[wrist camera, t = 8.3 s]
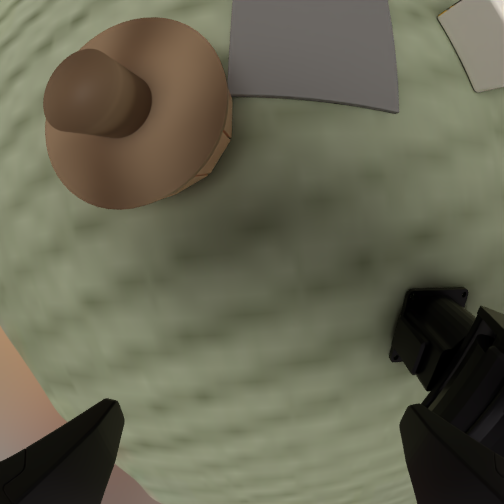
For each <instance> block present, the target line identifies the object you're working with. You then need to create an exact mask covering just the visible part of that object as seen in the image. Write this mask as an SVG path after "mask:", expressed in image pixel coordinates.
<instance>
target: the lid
mask: <svg viewBox="0 0 504 504" xmlns="http://www.w3.org/2000/svg"><path fill="white" fill-rule="evenodd" d="M228 105H229V94H228V85H227V79H226V76H225V73H224V70H223V67H222V64H221V62H220V59H219V57H218V55H217V53H216V52H215V50H214V48H213V47H212V46H211V44H210V43H209V42H208V41H207V39H205V38H204V37H203V36H202V35H201V34H200V33H199V32H197V31H196V30H194V29H193V28H191V27H189V26H188V25H185V24H183V23H181V22H178V21H174V20H170V19H166V18H156V17H155V18H140V19H134V20H130V21H126V22H123V23H120V24H118V25H115V26H113V27H111V28H109V29H107V30H105V31H103V32H102V33H100V34H98V35H97V36H95V37H94V38H93V39H91V40H90V41H89V42H88V43H86V44H85V45H84V46H83V47H82V48H81V49H80V50H79V51H77V52H75V53H73V54H71V55H70V56H69V57H67V58H66V59H65V60H64V61H63V62H62V63H61V64H60V65H59V66H58V67H57V68H56V69H55V71H54V72H53V74H52V76H51V77H50V79H49V81H48V84H47V86H46V90H45V93H44V101H43V107H44V113H45V117H46V122H45V136H46V146H47V150H48V155H49V158H50V161H51V163H52V166H53V168H54V170H55V172H56V174H57V176H58V177H59V178H60V180H61V181H62V183H63V184H64V185H65V186H66V187H67V188H68V189H69V190H70V191H71V192H72V193H73V194H74V195H76V196H77V197H78V198H80V199H82V200H83V201H85V202H87V203H89V204H92V205H95V206H97V207H101V208H106V209H119V210H121V209H131V208H136V207H140V206H144V205H147V204H150V203H153V202H155V201H158V200H161V199H163V198H165V197H167V196H169V195H171V194H173V193H174V192H176V191H177V190H179V189H180V188H182V187H183V186H184V185H186V184H187V183H188V182H189V181H190V180H191V179H192V178H193V177H195V176H196V175H197V173H198V172H199V171H200V170H201V169H202V168H203V167H204V165H205V164H206V163H207V161H208V160H209V158H210V157H211V155H212V154H213V152H214V150H215V148H216V146H217V145H218V143H219V141H220V138H221V135H222V133H223V130H224V127H225V123H226V119H227V114H228Z"/></svg>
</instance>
